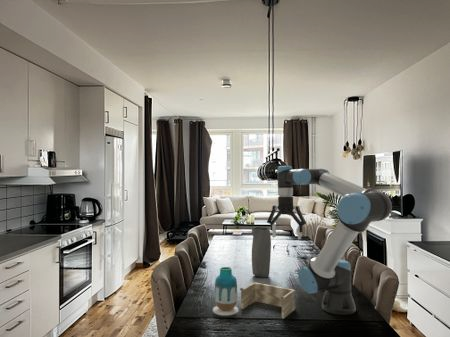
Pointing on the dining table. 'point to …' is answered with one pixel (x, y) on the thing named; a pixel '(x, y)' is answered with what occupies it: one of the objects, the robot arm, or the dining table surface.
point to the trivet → (225, 311)
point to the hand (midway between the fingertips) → (286, 238)
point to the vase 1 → (226, 289)
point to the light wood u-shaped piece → (269, 296)
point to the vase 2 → (261, 251)
